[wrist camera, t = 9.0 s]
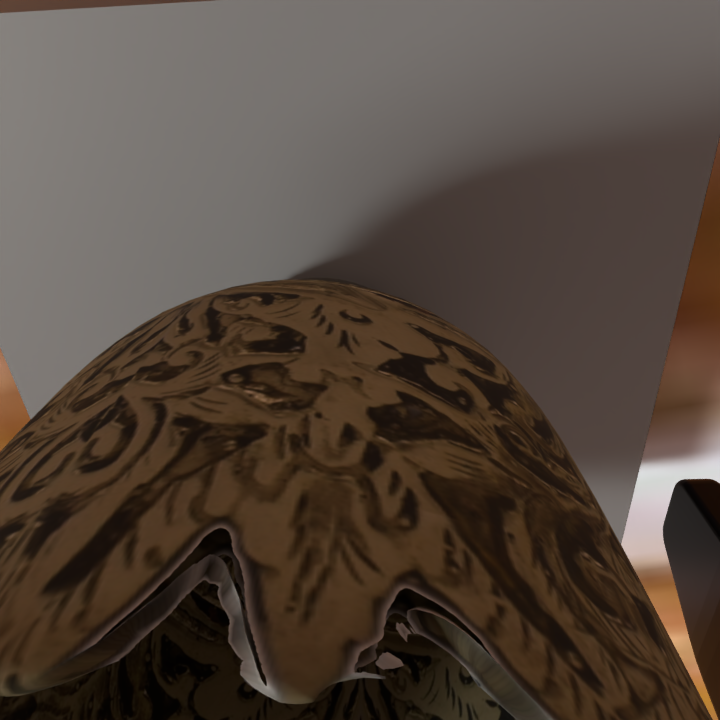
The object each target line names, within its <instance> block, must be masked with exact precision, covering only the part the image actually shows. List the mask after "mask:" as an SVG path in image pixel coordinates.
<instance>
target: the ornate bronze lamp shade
mask: <svg viewBox="0 0 720 720" xmlns="http://www.w3.org/2000/svg"><path fill="white" fill-rule="evenodd" d="M0 720H712V718H711V716H710V714H709V712H708V710H707V708H706V706H705V704H704V702H703V700H702V698H701V697H700V695H699V693H698V691H697V689H696V687H695V685H694V683H693V681H692V679H691V677H690V675H689V673H688V671H687V670H686V668H685V666H684V664H683V662H682V660H681V658H680V656H679V654H678V652H677V650H676V648H675V647H674V645H673V643H672V641H671V639H670V637H669V635H668V633H667V631H666V629H665V627H664V625H663V624H662V622H661V620H660V618H659V616H658V614H657V612H656V610H655V608H654V606H653V604H652V603H651V601H650V599H649V597H648V595H647V593H646V591H645V589H644V587H643V585H642V584H641V582H640V580H639V578H638V576H637V574H636V572H635V570H634V569H633V567H632V565H631V563H630V561H629V559H628V557H627V555H626V554H625V552H624V550H623V548H622V546H621V544H620V542H619V540H618V539H617V537H616V535H615V533H614V531H613V529H612V527H611V526H610V524H609V522H608V520H607V518H606V516H605V514H604V513H603V511H602V509H601V507H600V505H599V503H598V502H597V500H596V498H595V496H594V494H593V493H592V491H591V489H590V487H589V486H588V484H587V482H586V481H585V479H584V477H583V475H582V474H581V472H580V470H579V469H578V467H577V465H576V463H575V462H574V460H573V458H572V457H571V455H570V453H569V451H568V450H567V448H566V446H565V445H564V443H563V441H562V440H561V438H560V436H559V435H558V433H557V432H556V430H555V429H554V427H553V426H552V425H551V423H550V422H549V420H548V419H547V417H546V416H545V414H544V413H543V411H542V410H541V408H540V407H539V406H538V405H537V403H536V402H535V401H534V400H533V398H532V397H531V396H530V395H529V393H528V392H527V391H526V390H525V388H524V387H523V386H522V385H521V384H520V383H519V381H518V380H517V379H516V378H515V377H514V376H513V375H512V373H511V372H510V371H509V370H508V369H507V368H506V367H505V366H504V365H503V364H502V363H501V362H500V361H499V360H498V359H497V358H496V357H495V356H494V355H493V354H492V353H491V352H490V351H489V350H488V349H486V348H485V347H484V346H482V345H481V344H480V343H478V342H477V341H476V340H474V339H473V338H472V337H470V336H469V335H468V334H466V333H465V332H464V331H462V330H461V329H459V328H457V327H456V326H454V325H453V324H451V323H450V322H448V321H446V320H444V319H443V318H441V317H439V316H438V315H436V314H434V313H433V312H431V311H429V310H427V309H425V308H423V307H420V306H418V305H416V304H414V303H411V302H409V301H407V300H405V299H402V298H399V297H396V296H393V295H390V294H387V293H384V292H381V291H378V290H375V289H370V288H368V287H366V286H363V285H360V284H357V283H354V282H350V281H346V280H341V279H333V278H305V279H299V280H293V279H288V280H275V281H263V282H256V283H250V284H245V285H240V286H234V287H230V288H227V289H223V290H220V291H217V292H213V293H210V294H207V295H204V296H201V297H198V298H195V299H192V300H189V301H187V302H185V303H182V304H180V305H178V306H175V307H173V308H171V309H168V310H166V311H164V312H162V313H160V314H159V315H157V316H155V317H153V318H152V319H150V320H148V321H146V322H145V323H143V324H141V325H140V326H138V327H137V328H135V329H134V330H132V331H131V332H129V333H128V334H126V335H125V336H124V337H122V338H121V339H119V340H118V341H116V342H115V343H114V344H112V345H111V346H110V347H109V348H107V349H106V350H105V351H103V352H102V353H101V354H99V355H98V356H97V357H96V358H94V359H93V360H92V361H91V362H90V363H89V364H88V365H86V366H85V367H84V368H83V369H82V370H81V371H80V372H79V373H77V374H76V375H75V376H74V377H73V378H72V379H71V380H70V381H68V382H67V383H66V384H65V385H64V386H63V387H62V388H61V389H60V390H59V391H58V392H57V393H56V394H55V395H54V396H53V397H52V398H51V399H50V401H49V402H48V403H47V404H46V405H45V406H44V407H43V408H42V409H41V410H40V411H39V412H38V413H37V414H36V415H35V416H34V417H33V418H32V419H31V420H30V421H29V422H28V423H27V424H26V425H25V426H24V427H23V428H22V429H21V430H20V431H19V432H18V433H17V434H16V435H15V436H14V438H13V439H12V440H11V441H10V442H9V443H8V444H7V445H6V446H5V447H4V448H3V449H2V451H1V452H0Z"/></svg>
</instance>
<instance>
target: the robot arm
mask: <svg viewBox="0 0 720 720" xmlns="http://www.w3.org/2000/svg"><path fill="white" fill-rule="evenodd" d="M663 538H664V544H665V548H666V552H667V555H668V559H669V563H670V567H671V570H672V574H673V578H674V582H675V585H676V589H677V593H678V597H679V600H680V604H681V608H682V612H683V615H684V619H685V623H686V627H687V631H688V634H689V638H690V642H691V645H692V648H693V652H694V655H695V659H696V662H697V664H698V667H699V670H700V673H701V676H702V678H703V681H704V684H705V686H706V689H707V691H708V694H709V696H710V699H711V702H712V704H713V707H714V709H715V712H716V714H717V717H718V720H720V483H718V482H717V481H714V480H712V479H684V480H680V481H679V482H678V483H677V484H676V485H675V487H674V490H673V494H672V497H671V500H670V504H669V507H668V511H667V514H666V518H665V521H664V526H663Z"/></svg>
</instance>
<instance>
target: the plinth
mask: <svg viewBox="0 0 720 720" xmlns="http://www.w3.org/2000/svg"><path fill="white" fill-rule="evenodd" d="M719 138H720V0H0V348H1V350H2V353H3V355H4V357H5V360H6V362H7V364H8V367H9V369H10V372H11V374H12V376H13V379H14V381H15V383H16V386H17V388H18V390H19V393H20V395H21V397H22V400H23V402H24V405H25V407H26V409H27V412H28V414H29V416H30V419H32V418H33V417H34V416H35V415H36V414H37V413H38V412H39V411H40V410H41V409H42V408H43V407H44V406H45V405H46V404H47V403H48V402H49V401H50V399H51V398H52V397H53V396H54V395H55V394H56V393H57V392H58V391H59V390H60V389H61V388H62V387H63V386H64V385H65V384H66V383H67V382H68V381H70V380H71V379H72V378H73V377H74V376H75V375H76V374H77V373H79V372H80V371H81V370H82V369H83V368H84V367H85V366H86V365H88V364H89V363H90V362H91V361H92V360H93V359H94V358H96V357H97V356H98V355H99V354H101V353H102V352H103V351H105V350H106V349H107V348H109V347H110V346H111V345H112V344H114V343H115V342H116V341H118V340H119V339H121V338H122V337H124V336H125V335H126V334H128V333H129V332H131V331H132V330H134V329H135V328H137V327H138V326H140V325H141V324H143V323H145V322H146V321H148V320H150V319H152V318H153V317H155V316H157V315H159V314H160V313H162V312H164V311H166V310H168V309H171V308H173V307H175V306H178V305H180V304H182V303H185V302H187V301H189V300H192V299H195V298H198V297H201V296H204V295H207V294H210V293H213V292H217V291H220V290H223V289H227V288H230V287H234V286H240V285H245V284H250V283H256V282H263V281H275V280H288V279H293V280H299V279H305V278H333V279H341V280H346V281H350V282H354V283H357V284H360V285H363V286H366V287H368V288H370V289H375V290H378V291H381V292H384V293H387V294H390V295H393V296H396V297H399V298H402V299H405V300H407V301H409V302H411V303H414V304H416V305H418V306H420V307H423V308H425V309H427V310H429V311H431V312H433V313H434V314H436V315H438V316H439V317H441V318H443V319H444V320H446V321H448V322H450V323H451V324H453V325H454V326H456V327H457V328H459V329H461V330H462V331H464V332H465V333H466V334H468V335H469V336H470V337H472V338H473V339H474V340H476V341H477V342H478V343H480V344H481V345H482V346H484V347H485V348H486V349H488V350H489V351H490V352H491V353H492V354H493V355H494V356H495V357H496V358H497V359H498V360H499V361H500V362H501V363H502V364H503V365H504V366H505V367H506V368H507V369H508V370H509V371H510V372H511V373H512V375H513V376H514V377H515V378H516V379H517V380H518V381H519V383H520V384H521V385H522V386H523V387H524V388H525V390H526V391H527V392H528V393H529V395H530V396H531V397H532V398H533V400H534V401H535V402H536V403H537V405H538V406H539V407H540V408H541V410H542V411H543V413H544V414H545V416H546V417H547V419H548V420H549V422H550V423H551V425H552V426H553V427H554V429H555V430H556V432H557V433H558V435H559V436H560V438H561V440H562V441H563V443H564V445H565V446H566V448H567V450H568V451H569V453H570V455H571V457H572V458H573V460H574V462H575V463H576V465H577V467H578V469H579V470H580V472H581V474H582V475H583V477H584V479H585V481H586V482H587V484H588V486H589V487H590V489H591V491H592V493H593V494H594V496H595V498H596V500H597V502H598V503H599V505H600V507H601V509H602V511H603V513H604V514H605V516H606V518H607V520H608V522H609V524H610V526H611V527H612V529H613V531H614V533H615V535H616V537H617V539H618V540H619V542H620V544H621V542H622V538H623V534H624V530H625V526H626V521H627V517H628V513H629V509H630V505H631V501H632V497H633V493H634V488H635V484H636V480H637V476H638V472H639V468H640V464H641V460H642V455H643V451H644V447H645V443H646V439H647V435H648V431H649V427H650V422H651V418H652V414H653V410H654V406H655V402H656V398H657V394H658V390H659V385H660V381H661V377H662V373H663V369H664V365H665V361H666V357H667V352H668V348H669V344H670V340H671V336H672V332H673V328H674V324H675V319H676V315H677V311H678V307H679V303H680V299H681V295H682V291H683V286H684V282H685V278H686V274H687V270H688V266H689V262H690V258H691V253H692V249H693V245H694V241H695V237H696V233H697V229H698V225H699V220H700V216H701V212H702V208H703V204H704V200H705V196H706V192H707V187H708V183H709V179H710V175H711V171H712V167H713V163H714V159H715V154H716V150H717V146H718V142H719Z"/></svg>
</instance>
